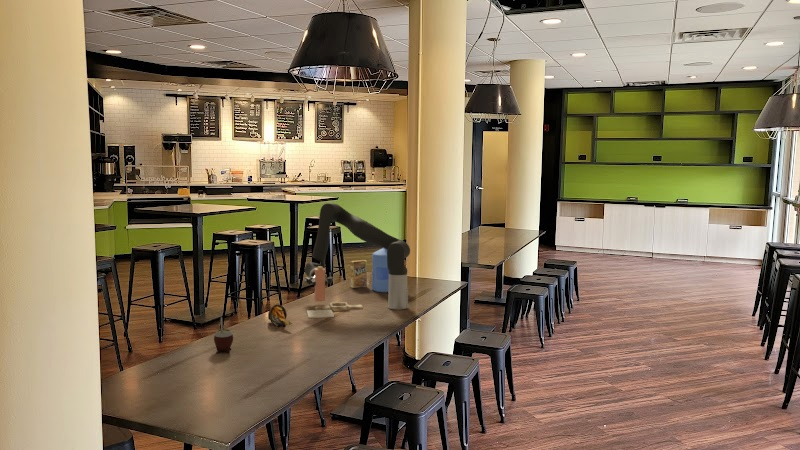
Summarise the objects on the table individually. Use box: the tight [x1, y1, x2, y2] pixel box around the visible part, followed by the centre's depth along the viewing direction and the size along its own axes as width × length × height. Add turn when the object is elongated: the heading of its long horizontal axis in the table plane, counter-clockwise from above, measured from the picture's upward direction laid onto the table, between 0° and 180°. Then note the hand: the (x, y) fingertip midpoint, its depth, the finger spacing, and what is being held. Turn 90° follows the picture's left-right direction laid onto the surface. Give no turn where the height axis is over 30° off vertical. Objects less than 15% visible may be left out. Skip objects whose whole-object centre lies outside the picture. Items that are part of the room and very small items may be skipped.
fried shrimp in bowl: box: [267, 303, 292, 327], centre depth 278 cm, size 9×11×18 cm
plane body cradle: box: [314, 301, 364, 312], centre depth 310 cm, size 23×9×2 cm, turn 102°
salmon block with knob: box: [314, 266, 326, 302], centre depth 297 cm, size 4×4×16 cm
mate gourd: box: [213, 316, 234, 354], centre depth 239 cm, size 8×8×15 cm
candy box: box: [349, 259, 368, 289], centre depth 360 cm, size 9×4×15 cm, turn 118°
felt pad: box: [306, 309, 335, 319], centre depth 298 cm, size 12×12×1 cm
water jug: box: [371, 247, 389, 294], centre depth 353 cm, size 16×16×28 cm
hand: (320, 283), depth 294 cm, fingers closed on salmon block with knob, 4 cm apart
